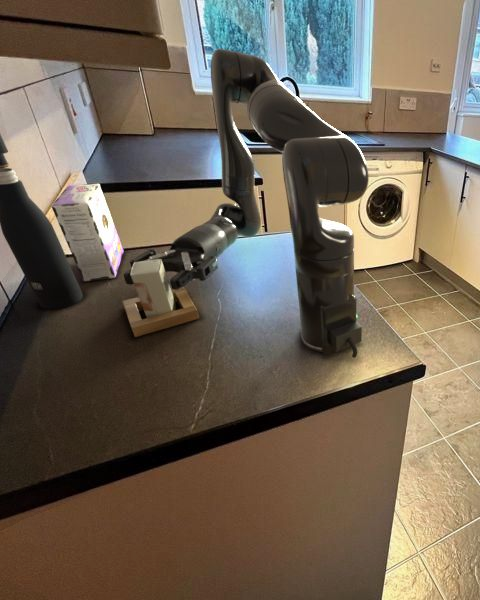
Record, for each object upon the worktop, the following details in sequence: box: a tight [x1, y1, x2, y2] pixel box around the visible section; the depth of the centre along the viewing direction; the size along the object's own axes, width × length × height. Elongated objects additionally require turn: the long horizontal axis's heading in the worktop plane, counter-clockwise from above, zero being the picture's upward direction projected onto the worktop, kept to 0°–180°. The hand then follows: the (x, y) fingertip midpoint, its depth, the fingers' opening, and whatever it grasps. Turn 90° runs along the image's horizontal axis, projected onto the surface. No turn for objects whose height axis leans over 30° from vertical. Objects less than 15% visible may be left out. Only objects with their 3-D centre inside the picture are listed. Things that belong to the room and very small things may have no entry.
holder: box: [122, 286, 200, 338], centre depth 70 cm, size 10×10×2 cm
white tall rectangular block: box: [131, 259, 177, 318], centre depth 68 cm, size 5×4×10 cm
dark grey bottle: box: [0, 133, 84, 310], centre depth 64 cm, size 6×6×30 cm
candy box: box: [50, 183, 125, 282], centre depth 80 cm, size 14×6×16 cm, turn 25°
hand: (149, 282), depth 66 cm, fingers open, 8 cm apart
